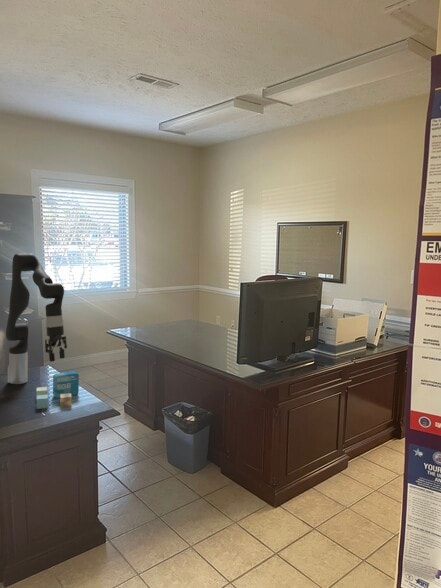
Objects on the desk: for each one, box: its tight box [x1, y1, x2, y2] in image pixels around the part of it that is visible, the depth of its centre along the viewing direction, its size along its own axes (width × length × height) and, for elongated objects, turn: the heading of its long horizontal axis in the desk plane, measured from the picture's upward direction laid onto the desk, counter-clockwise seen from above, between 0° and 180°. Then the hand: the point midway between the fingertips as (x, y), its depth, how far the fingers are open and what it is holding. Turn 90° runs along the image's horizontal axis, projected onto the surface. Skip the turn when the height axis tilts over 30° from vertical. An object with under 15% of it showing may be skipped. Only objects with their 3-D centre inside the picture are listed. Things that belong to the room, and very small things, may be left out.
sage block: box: [36, 386, 48, 401], centre depth 219 cm, size 5×5×5 cm
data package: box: [52, 370, 80, 399], centre depth 224 cm, size 12×4×12 cm, turn 127°
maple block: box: [59, 393, 72, 408], centre depth 212 cm, size 5×5×5 cm
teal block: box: [36, 394, 49, 410], centre depth 209 cm, size 5×5×5 cm
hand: (57, 359), depth 202 cm, fingers open, 8 cm apart
